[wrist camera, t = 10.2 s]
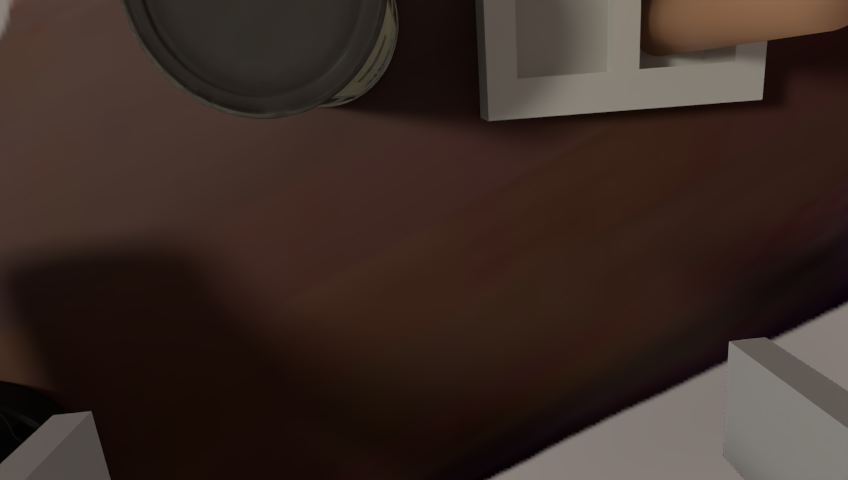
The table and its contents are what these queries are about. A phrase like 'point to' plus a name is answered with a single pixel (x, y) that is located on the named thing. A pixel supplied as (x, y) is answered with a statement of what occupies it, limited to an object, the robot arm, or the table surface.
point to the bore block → (596, 62)
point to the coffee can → (267, 50)
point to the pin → (732, 22)
